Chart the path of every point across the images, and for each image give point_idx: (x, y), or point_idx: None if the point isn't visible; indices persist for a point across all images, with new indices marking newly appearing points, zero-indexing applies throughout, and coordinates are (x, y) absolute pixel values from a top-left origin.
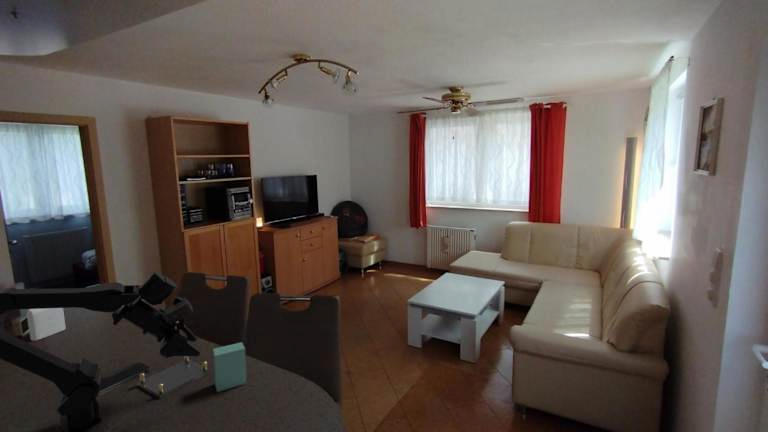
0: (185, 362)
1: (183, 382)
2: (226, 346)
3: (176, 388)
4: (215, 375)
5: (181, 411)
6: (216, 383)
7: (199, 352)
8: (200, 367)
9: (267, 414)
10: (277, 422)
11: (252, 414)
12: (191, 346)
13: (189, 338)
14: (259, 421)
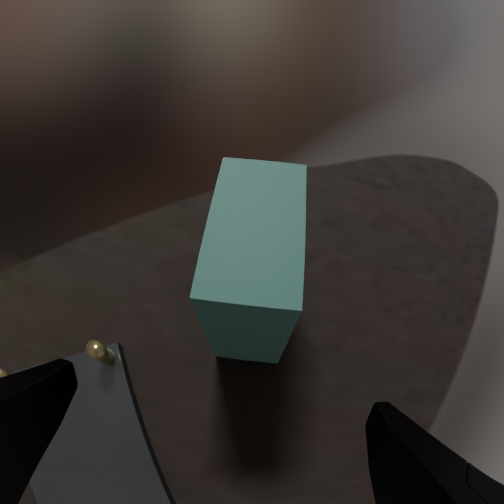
0: None
1: (145, 451)
2: (215, 224)
3: (162, 478)
4: (257, 347)
5: (322, 486)
6: (278, 356)
7: (393, 407)
8: (81, 364)
9: (456, 264)
10: (483, 256)
11: (445, 295)
12: (478, 470)
13: (47, 415)
14: (472, 288)
